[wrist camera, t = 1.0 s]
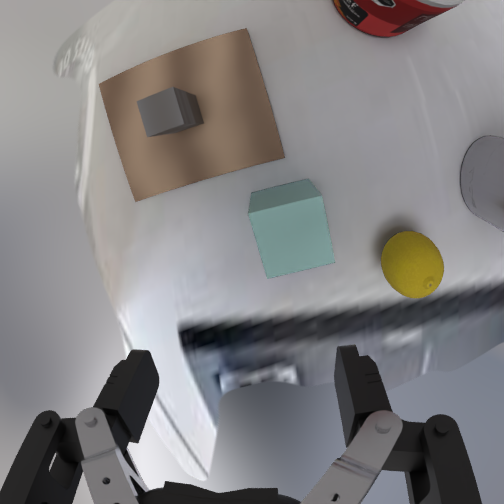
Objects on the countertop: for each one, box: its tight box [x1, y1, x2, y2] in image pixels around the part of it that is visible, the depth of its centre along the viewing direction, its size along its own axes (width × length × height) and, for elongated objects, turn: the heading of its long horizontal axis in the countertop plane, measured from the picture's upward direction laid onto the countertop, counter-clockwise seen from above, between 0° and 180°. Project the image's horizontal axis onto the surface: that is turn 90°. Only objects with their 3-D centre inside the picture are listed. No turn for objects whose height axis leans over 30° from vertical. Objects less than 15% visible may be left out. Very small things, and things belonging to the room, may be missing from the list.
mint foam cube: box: [248, 179, 335, 279], centre depth 25 cm, size 5×5×7 cm
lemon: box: [381, 231, 444, 298], centre depth 25 cm, size 6×6×8 cm
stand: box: [99, 28, 285, 202], centre depth 21 cm, size 14×12×8 cm
